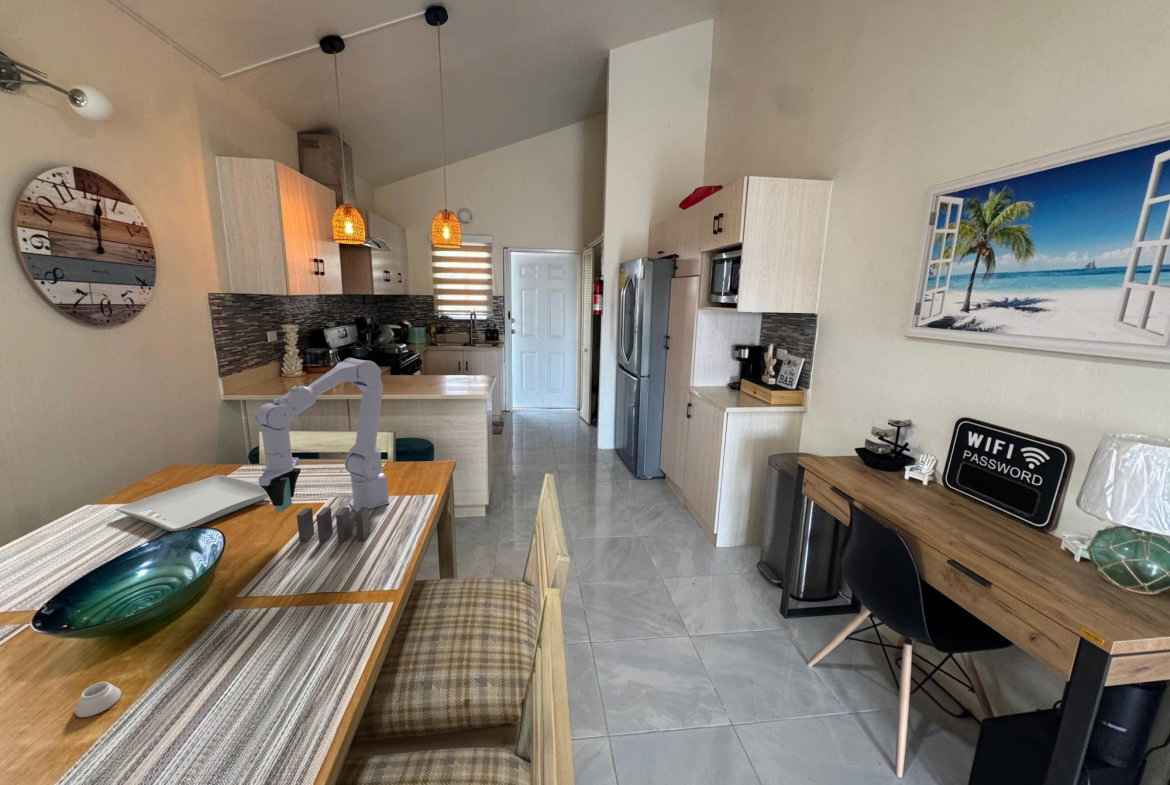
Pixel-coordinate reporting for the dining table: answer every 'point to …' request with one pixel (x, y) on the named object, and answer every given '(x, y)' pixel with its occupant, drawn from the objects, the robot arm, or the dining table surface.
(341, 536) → the tile
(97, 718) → the dining table surface
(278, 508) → the tile
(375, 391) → the robot arm
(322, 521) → the tile
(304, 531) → the tile
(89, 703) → the small white bowl
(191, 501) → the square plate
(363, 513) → the tile
